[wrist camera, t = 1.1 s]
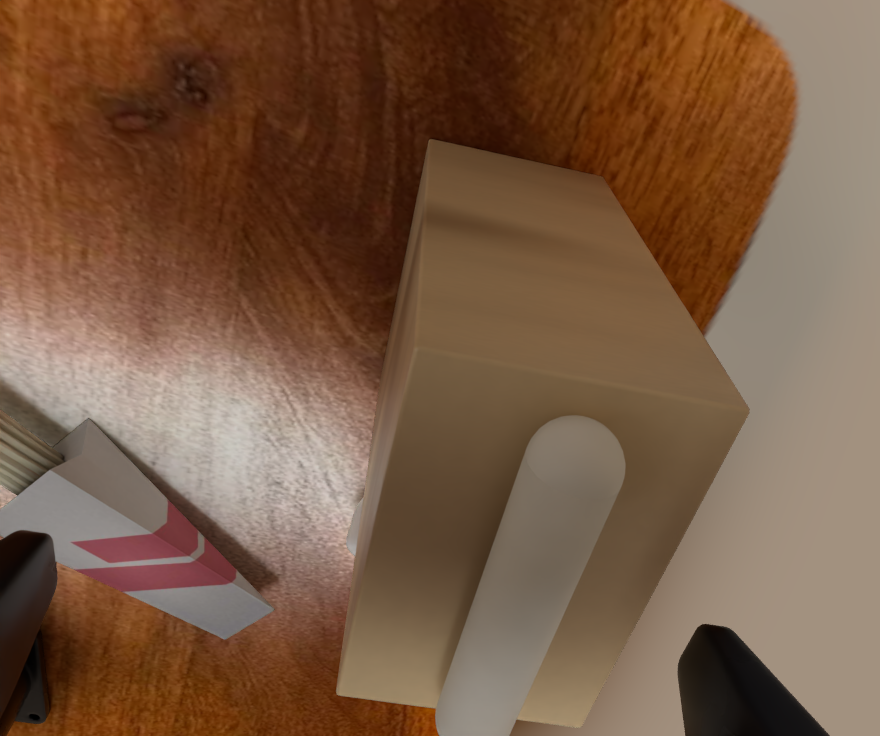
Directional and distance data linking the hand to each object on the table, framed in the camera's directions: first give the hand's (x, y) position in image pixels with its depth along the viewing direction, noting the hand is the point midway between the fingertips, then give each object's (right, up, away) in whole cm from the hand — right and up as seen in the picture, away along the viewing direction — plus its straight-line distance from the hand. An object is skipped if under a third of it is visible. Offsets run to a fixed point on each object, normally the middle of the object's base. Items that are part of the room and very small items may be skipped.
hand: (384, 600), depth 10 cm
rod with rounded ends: (+2, -1, +2) cm, 3 cm away
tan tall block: (+2, +6, +12) cm, 14 cm away
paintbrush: (-13, -1, +13) cm, 18 cm away
